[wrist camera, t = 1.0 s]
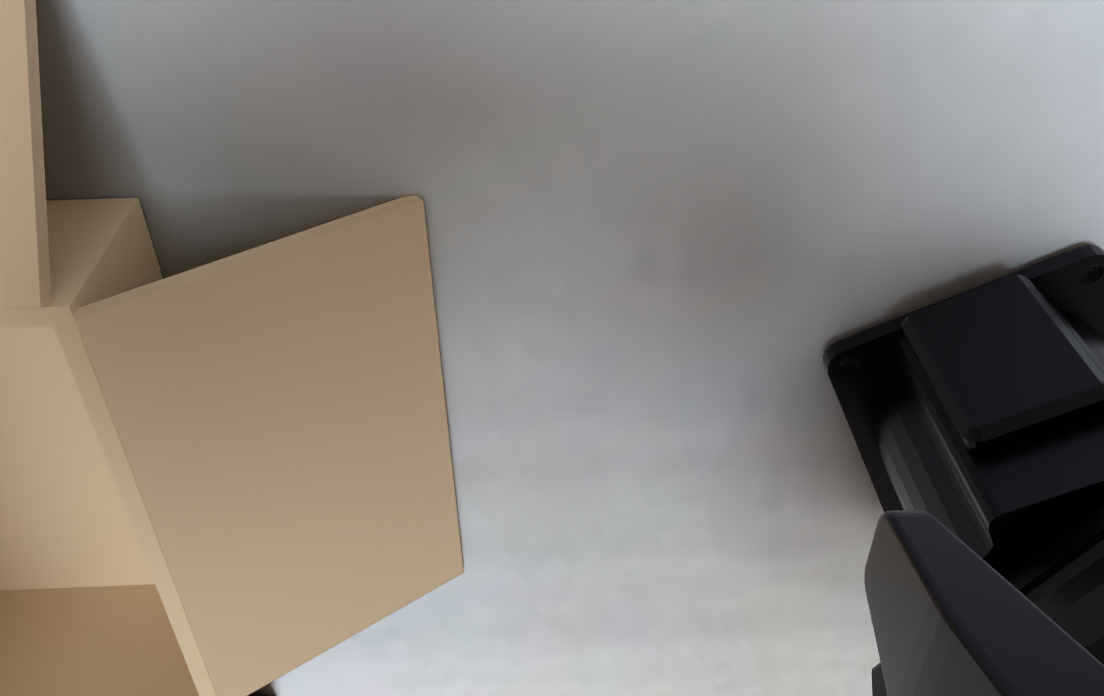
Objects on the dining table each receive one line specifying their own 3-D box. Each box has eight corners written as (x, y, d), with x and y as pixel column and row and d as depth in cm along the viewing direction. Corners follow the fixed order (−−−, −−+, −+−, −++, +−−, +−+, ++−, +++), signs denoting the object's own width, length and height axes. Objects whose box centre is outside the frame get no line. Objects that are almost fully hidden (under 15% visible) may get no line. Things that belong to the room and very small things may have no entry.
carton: (390, -121, 17) (361, -54, 14) (477, 691, 31) (473, 826, 28) (-544, -95, 17) (-818, -20, 13) (-28, 713, 31) (-95, 852, 27)
